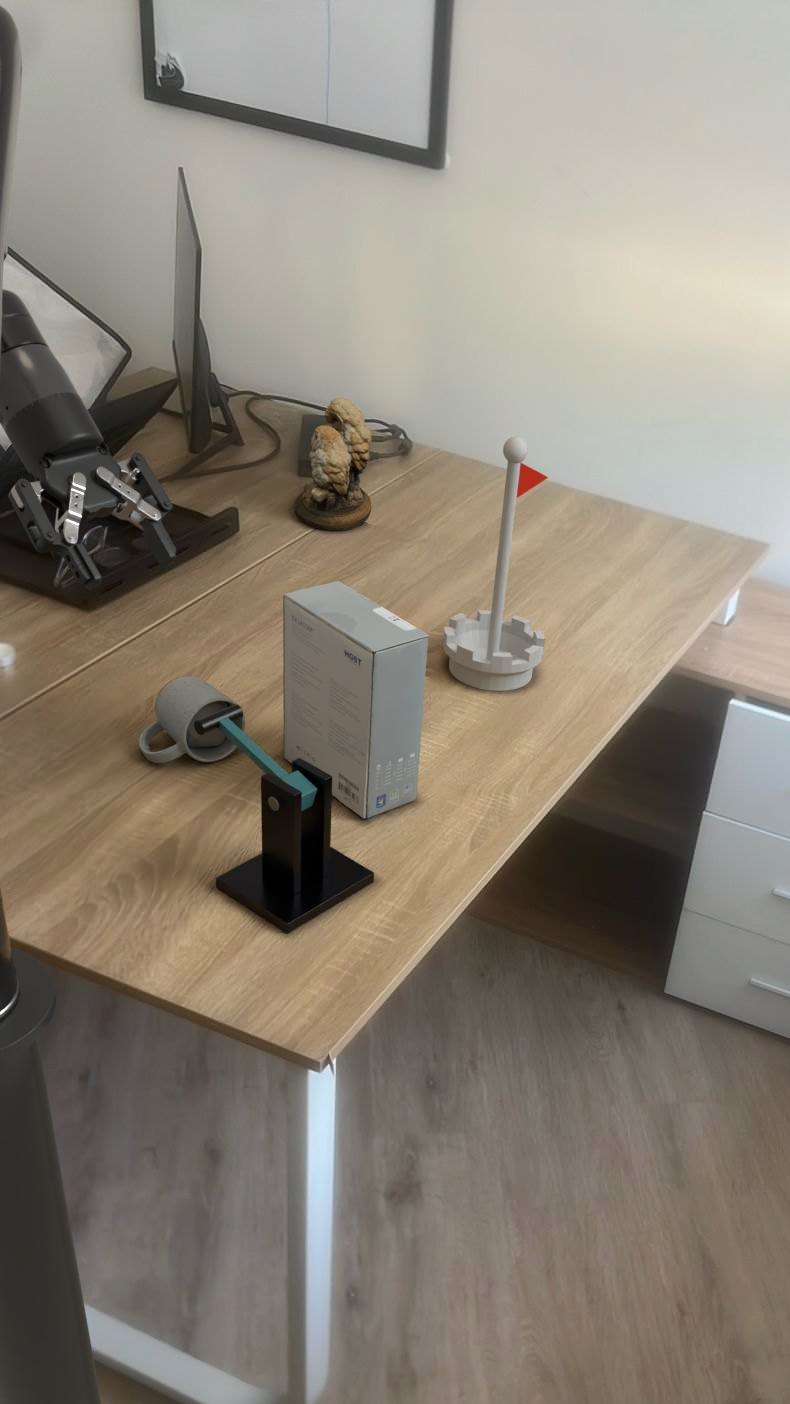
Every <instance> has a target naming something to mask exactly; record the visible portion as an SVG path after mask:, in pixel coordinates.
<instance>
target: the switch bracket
mask: <svg viewBox="0 0 790 1404" xmlns="http://www.w3.org/2000/svg"><path fill="white" fill-rule="evenodd" d="M297 770H298V771H299V772H300V773H301V774H302V775H303V776H304V777H305V778H307V779H308V780H309V781H310V782H311V783H312V784H313V785H314V786H315V787H316V788H317V792H316V795H315V798H314V801H313V805H312V806H311V807H309V808H307V809H305V810H303V811H302V792H301V791H299V790H298V789H296V788H294V787H293V786H291V785H289V784H287V783H286V782H284V781H282V780H280V779H279V778H277V777H275V776H274V775H272V774H270V773H264V774H263V775H261V776H260V807H261V809H260V813H261V814H260V816H261V819H260V820H261V853H260V854H257V855H256V856H254V857H252V858H250V859H248V860H246V861H245V862H243V863H240V864H238V865H237V866H235V867H233V868H231V869H230V870H227V871H225V872H224V873H222V874H220V875H218V876H216V877H215V888H216V889H218V890H219V891H222V893H224V894H226V895H227V896H229V897H230V898H232V899H234V900H235V901H236V902H238V903H240V904H241V905H243V906H244V907H246V908H247V909H249V910H250V911H252V912H253V913H255V914H256V915H258V916H259V917H261V918H263V919H265V921H267V922H269V923H271V924H272V925H274V927H277V928H278V929H280V930H281V931H283V932H285V934H290V933H291V932H293V931H295V930H296V929H298V928H300V927H302V926H303V925H305V924H306V923H308V922H310V921H312V920H313V919H315V918H316V917H318V916H320V915H322V914H323V913H325V912H326V911H329V910H330V909H332V908H333V907H335V906H337V905H338V904H340V903H341V902H343V901H345V900H346V899H348V898H349V897H352V896H353V895H355V894H357V893H358V892H360V891H361V890H363V889H364V888H366V887H368V886H369V885H372V884H373V883H374V882H375V872H374V871H373V870H371V869H369V868H367V867H366V866H364V865H362V864H361V863H359V862H357V861H355V860H354V859H352V858H350V857H349V856H347V855H345V854H343V853H342V852H340V851H339V850H337V849H335V848H333V847H332V845H331V842H332V841H331V840H332V807H333V806H332V805H333V801H332V800H333V799H332V798H333V795H332V776H331V775H329V774H327V773H326V772H324V771H322V770H320V769H319V768H317V767H315V766H313V765H312V764H310V763H308V762H306V761H305V760H303V759H301V758H297V759H295V760H293V761H292V763H291V773H293V772H295V771H297Z"/></svg>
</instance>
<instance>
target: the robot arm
mask: <svg viewBox="0 0 790 1404" xmlns="http://www.w3.org/2000/svg"><path fill="white" fill-rule="evenodd" d="M22 56H23V55H22V48H21V39H20V34H19V31H18V27H17V25H16V22H15V20H14V18H13V17H12V14H11V13H10V12H9V11H8V10H7V9H6V8H5V7H3V5H0V425H1V427H2V429H3V431H4V433H5V434H6V436H7V438H8V440H9V441H10V444H11V445H12V447H13V448H14V450H15V453H16V454H17V455H18V457H19V459H20V460H21V462H22V464H23V465H24V468H25V469H26V471H27V473H28V474H29V476H31V477H33V478H34V481H29V480H28V479H26V478H23V477H21V478H18V480H17V481H16V483H14V485H13V487H12V488H11V489H10V491H9V492H8V494H7V497H8V500H9V501H10V503H11V505H12V507H13V509H14V511H15V513H16V515H17V517H18V519H19V520H20V523H21V525H22V527H23V529H24V530H25V532H26V535H27V536H28V538H29V540H30V542H31V544H32V546H33V548H34V550H35V551H36V552H38V553H40V554H45V553H47V552H53V553H57V554H58V555H60V556H61V557H62V558H63V560H64V561H65V563H66V565H67V567H68V569H69V570H70V572H71V574H72V576H73V578H74V579H75V581H76V583H78V584H79V585H80V586H81V587H82V586H84V588H85V590H87V591H92V590H95V589H97V588H98V587H99V586H100V585H101V584H102V582H103V578H102V575H101V573H100V572H99V569H98V568H97V566H96V564H95V563H94V561H93V559H92V558H91V556H90V554H89V552H88V550H87V549H86V547H85V546H84V544H83V543H82V542H80V543H78V540H79V530H80V524H83V523H87V522H89V521H91V520H93V519H94V518H105V517H109V516H110V515H113V516H114V517H116V518H117V519H118V520H121V521H128V522H130V523H131V524H132V525H134V526H135V527H137V528H138V529H140V530H141V531H143V532H142V533H141V535H142V537H143V539H144V541H145V543H146V544H147V546H148V548H149V550H150V551H151V553H152V555H153V556H154V558H155V560H156V561H157V564H158V565H159V567H160V568H162V569H164V568H167V567H170V566H171V565H172V564H173V563H174V562H175V561H177V555H176V554H177V553H178V552H177V548H176V546H175V544H174V542H173V540H172V539H171V537H170V535H169V533H168V531H167V529H166V528H165V526H164V524H163V519H164V517H166V515H167V514H168V513H169V512H170V511H172V509H173V507H174V505H173V502H172V500H171V499H170V497H169V495H168V494H167V493H166V490H165V489H164V487H163V486H162V484H161V483H160V481H159V479H158V478H157V476H156V475H155V473H154V471H153V470H152V468H151V466H150V465H149V463H148V462H147V460H146V459H145V456H144V455H143V454H141V453H140V452H133V453H132V455H130V456H129V457H128V458H127V459H124V460H120V461H118V462H117V461H116V460H115V459H114V458H112V456H110V454H109V453H108V451H107V447H106V445H105V440H104V437H103V435H102V434H101V431H100V429H99V428H98V426H97V424H96V422H95V421H94V419H93V417H92V415H91V413H90V412H89V410H88V408H87V406H86V404H85V403H84V401H83V399H82V397H81V396H80V394H79V392H78V391H77V389H76V387H75V385H74V384H73V382H72V380H71V378H70V376H69V374H68V373H67V371H66V370H65V368H64V367H63V365H62V364H61V362H60V361H59V360H58V359H57V357H56V356H55V355H54V352H53V351H52V350H51V348H50V346H49V344H48V343H47V341H46V339H45V337H44V336H43V334H42V332H41V329H39V327H38V325H37V323H36V321H35V319H34V318H33V316H32V314H31V312H30V311H29V309H28V307H27V306H26V303H24V301H23V300H22V298H21V297H20V296H19V295H18V294H17V293H15V292H13V291H11V290H8V289H4V287H3V285H4V282H3V281H4V264H5V263H4V262H5V260H6V258H7V257H8V252H9V244H8V238H7V227H8V218H9V208H10V200H11V193H12V191H11V190H12V184H13V183H12V182H13V175H14V165H15V156H16V146H17V138H18V132H19V131H18V129H19V120H20V110H21V98H22V87H23V85H22V84H23V82H22V81H23V61H22V60H23V58H22ZM122 478H123V479H124V481H122ZM129 485H131V486H129ZM121 499H122V500H124V501H125V502H124V503H122V502H121ZM43 500H44V501H46V502H48V503H49V504H50V505H52V506H53V507H55V508H56V513H55V521H54V526H53V525H52V523H51V520H50V519H49V516H48V515H47V513H46V511H45V509H44V507H43V505H42V501H43ZM9 934H10V933H9V927H8V923H7V918H6V912H5V907H4V901H3V895H2V891H1V888H0V1022H1V1021H3V1020H4V1019H5V1018H6V1017H8V1016H9V1015H10V1014H11V1012H12V1011H13V1010H14V1009H15V1007H16V1005H17V1003H18V1001H19V998H20V987H19V982H18V978H17V975H16V969H15V966H14V961H13V955H12V950H11V947H12V944H11V939H10V935H9Z"/></svg>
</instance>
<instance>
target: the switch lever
mask: <svg viewBox="0 0 790 1404" xmlns="http://www.w3.org/2000/svg"><path fill="white" fill-rule="evenodd" d="M237 704H238V703H237ZM237 704H234V705H232V706H230V707H227V708H225V709H223V710H220V711H218V712H216V713H213V714H211V715H208V716H206V717H204V718H201V719H199V720H197V721H195V722H194V728H195V730H196V732H197V733H198V734H199V735H204V734H206V733H208V732H211V731H213V730H215V729H219V730H220V731H221V732H222V733H223V734H224V735H225V736H226V737H227V738H228V739H229V740H230V741H232V742H233V743H234V744H235V745H236V746H237V747H236V748H238V749H239V751H241V752H242V753H243V754H244V755H245V756H246V757H247V758H249V760H251V761H252V763H254V764H255V765H256V766H257V767H258V768H259V769H260V770H261V771H262V772H263V773H264V774H266V773H270V774H272V775H274V776H275V777H277V778H279V779H280V780H282V781H284V782H286V783H287V784H289V785H291V786H293V787H294V788H296V789H298V790H299V791H301V792H302V811H303V810H305V809H307V808H309V807H311V806H312V805H313V801H314V798H315V795H316V792H317V788H316V787H315V786H314V785H313V784H312V783H311V782H310V781H309V780H308V779H307V778H305V777H304V776H303V775H302V774H301V773H300V772H299V771H298V770H297V771H295V772H293V773H292V772H291V773H288V772H287V771H286V770H285V769H284V768H282V767H281V765H279V764H278V763H277V761H275V760H274V759H273V758H272V757H270V755H269V754H267V753H266V751H264V750H263V749H262V747H260V746H259V745H258V744H257V743H256V742H255V741H254V740H252V739H251V737H249V736H248V735H247V734H246V733H245V731H244V732H243V731H242V730H240V729H239V728H238V727H237V726H236V725H235V724H234V723H233V722H234V721H236V720H238V719H241V718H242V717H243V715H244V710H243V709H242V706H240V705H239V704H238V705H237Z"/></svg>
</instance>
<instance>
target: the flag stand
mask: <svg viewBox="0 0 790 1404" xmlns="http://www.w3.org/2000/svg"><path fill="white" fill-rule="evenodd" d="M502 447H503V448H502V453H503V456H504V458H505V459H506V460H507V464H506V465H507V466H506V473H505V474H506V475H505V483H504V492H503V502H502V510H501V520H500V529H499V538H498V547H497V549H498V550H497V557H496V565H495V574H494V583H493V591H492V601H491V610H487V609H486V610H485V609H483V610H481V609H480V610H479V609H478V610H477V614H476V615H477V616H476V618H467V617H468V616H467V615H465V614H464V613H462V612H461V613H460V612H459V613H457V614H455V615H453V616H451V617H449V620H448V626H444V628H443V638H442V646H443V651H444V653H446V655H447V656H448V657H449V661H448V662H449V663H448V668H449V672H450V673H451V675H452V677H454V678H455V679H456V680H458V681H459V682H461V683H463V684H465V685H468V686H470V687H472V688H477V689H479V690H484V691H485V690H486V691H494V692H495V691H496V692H504V691H513V690H516V689H520V688H522V687H524V686H526V685H528V683H530V681H531V680H532V676H533V673H534V672H533V670H534V668H535V667H536V666H538V665H539V664H540V663H541V661H542V660H543V656H544V649H545V641H546V638H545V637H546V636H545V634H544V632H543V630H542V629H538V630H537V629H535V630H533V631H532V630H531V623H532V621H531V620H529V619H527V618H524V617H522V616H519V615H516V614H515V615H513V616H512V617H511V621H508V620H503V617H504V607H505V600H506V591H507V582H508V575H509V567H510V566H509V565H510V556H511V550H512V549H511V547H512V541H513V540H512V539H513V533H514V532H513V531H514V521H515V514H516V505H517V499H518V498H520V497H521V496H523V495H524V494H525V493H527V492H529V491H530V490H531V489H533V488H535V487H536V486H538V485H539V484H542V482H544V481H545V480H547V479H548V478H549V476H547V475H545V474H543V473H541V472H539V471H537V470H536V469H534V468H532V467H530V466H528V465H527V464H525V463H523V461H525V460H526V458H527V457H528V453H529V447H528V444H527V442H526V441H525V439H524V438H521V437H519V436H512V437H510V438H507V440H506V441H505V442H504V444H503V446H502Z"/></svg>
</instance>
